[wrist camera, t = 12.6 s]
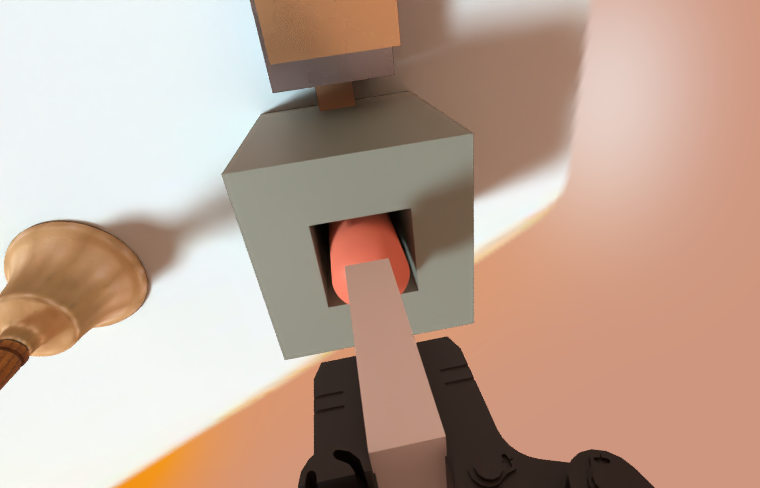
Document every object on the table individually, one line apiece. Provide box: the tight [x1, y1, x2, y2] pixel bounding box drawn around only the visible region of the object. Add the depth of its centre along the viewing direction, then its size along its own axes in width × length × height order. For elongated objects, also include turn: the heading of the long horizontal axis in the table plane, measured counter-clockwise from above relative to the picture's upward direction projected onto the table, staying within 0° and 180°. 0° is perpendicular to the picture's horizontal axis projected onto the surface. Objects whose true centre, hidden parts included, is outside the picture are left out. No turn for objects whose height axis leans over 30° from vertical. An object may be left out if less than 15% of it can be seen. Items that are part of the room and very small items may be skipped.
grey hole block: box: [222, 91, 474, 360], centre depth 21 cm, size 9×9×11 cm
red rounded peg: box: [328, 212, 410, 304], centre depth 18 cm, size 3×3×8 cm
